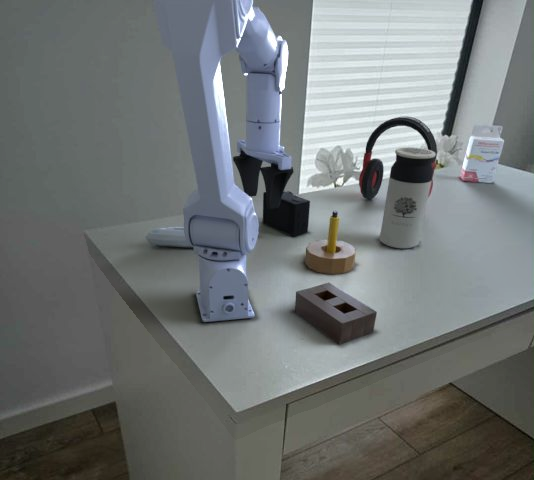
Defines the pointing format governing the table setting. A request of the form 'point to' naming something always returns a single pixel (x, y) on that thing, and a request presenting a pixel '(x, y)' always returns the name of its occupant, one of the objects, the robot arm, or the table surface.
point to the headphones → (374, 168)
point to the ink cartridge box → (482, 154)
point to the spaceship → (168, 237)
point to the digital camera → (288, 214)
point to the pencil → (333, 232)
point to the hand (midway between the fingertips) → (261, 201)
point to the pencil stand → (335, 312)
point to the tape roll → (330, 257)
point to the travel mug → (407, 197)
